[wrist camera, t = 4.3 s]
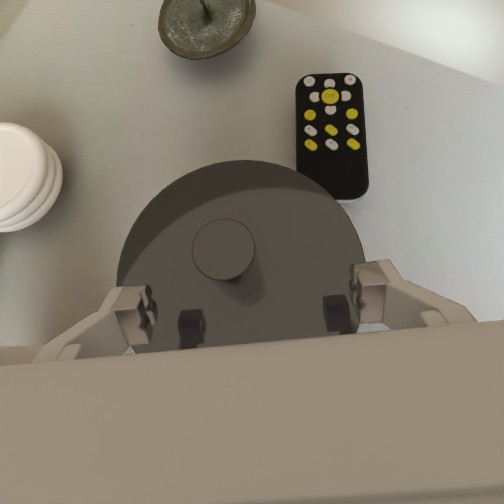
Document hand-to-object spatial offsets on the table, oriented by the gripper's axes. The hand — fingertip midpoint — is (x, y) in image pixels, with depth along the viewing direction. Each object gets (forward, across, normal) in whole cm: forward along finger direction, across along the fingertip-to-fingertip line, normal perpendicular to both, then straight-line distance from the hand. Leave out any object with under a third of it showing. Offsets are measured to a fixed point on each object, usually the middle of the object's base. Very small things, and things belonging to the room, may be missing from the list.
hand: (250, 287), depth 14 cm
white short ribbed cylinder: (+22, +23, +1) cm, 32 cm away
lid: (+33, +3, -11) cm, 35 cm away
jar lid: (+4, +1, +2) cm, 5 cm away
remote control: (+22, -8, 0) cm, 23 cm away
